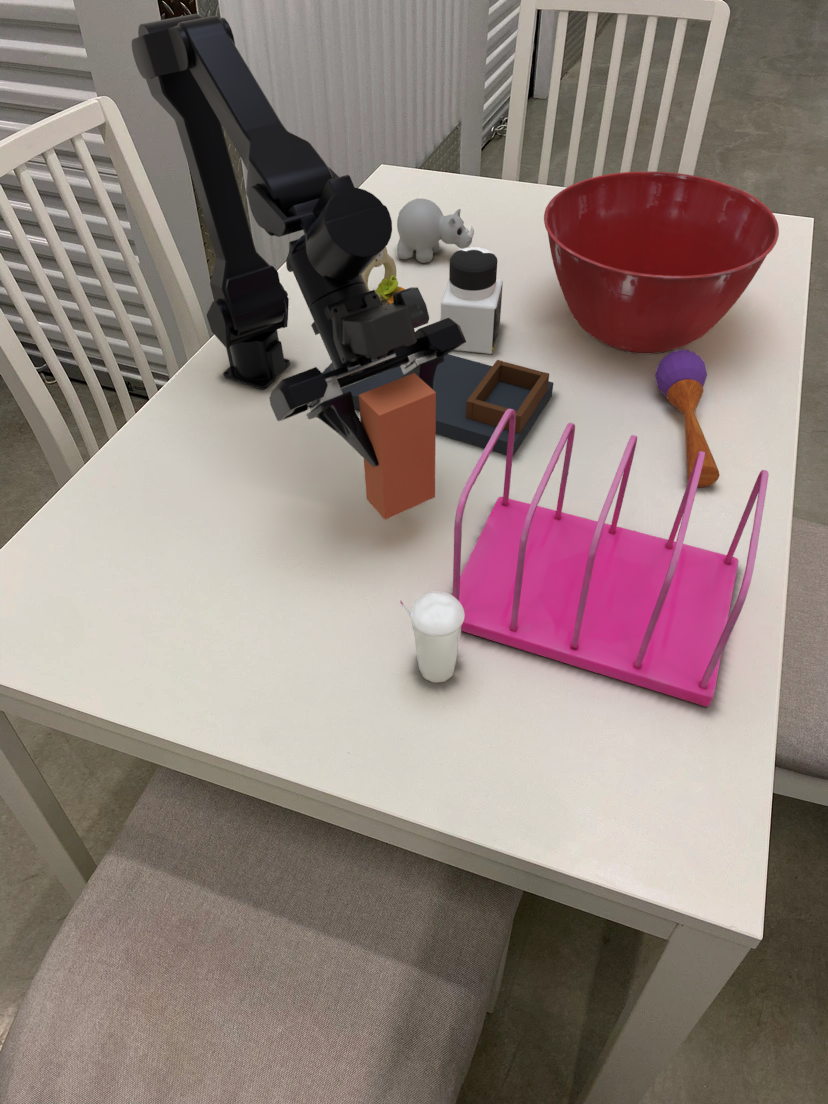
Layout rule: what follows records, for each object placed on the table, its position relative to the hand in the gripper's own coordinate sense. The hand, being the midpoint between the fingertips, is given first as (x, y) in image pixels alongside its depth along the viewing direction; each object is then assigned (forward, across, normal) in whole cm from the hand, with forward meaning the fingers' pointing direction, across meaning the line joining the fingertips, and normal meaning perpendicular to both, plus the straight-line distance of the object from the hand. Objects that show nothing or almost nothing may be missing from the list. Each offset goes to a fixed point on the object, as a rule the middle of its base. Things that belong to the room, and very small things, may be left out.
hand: (404, 453), depth 77 cm
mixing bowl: (-3, +48, +20) cm, 52 cm away
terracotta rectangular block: (+4, 0, +5) cm, 7 cm away
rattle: (-20, +22, +37) cm, 47 cm away
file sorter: (+20, +11, -4) cm, 23 cm away
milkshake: (+19, -7, -2) cm, 20 cm away
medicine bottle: (-11, +28, +28) cm, 40 cm away
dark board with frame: (-5, +16, +22) cm, 27 cm away
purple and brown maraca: (+11, +37, +6) cm, 39 cm away
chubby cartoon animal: (-26, +36, +43) cm, 61 cm away
